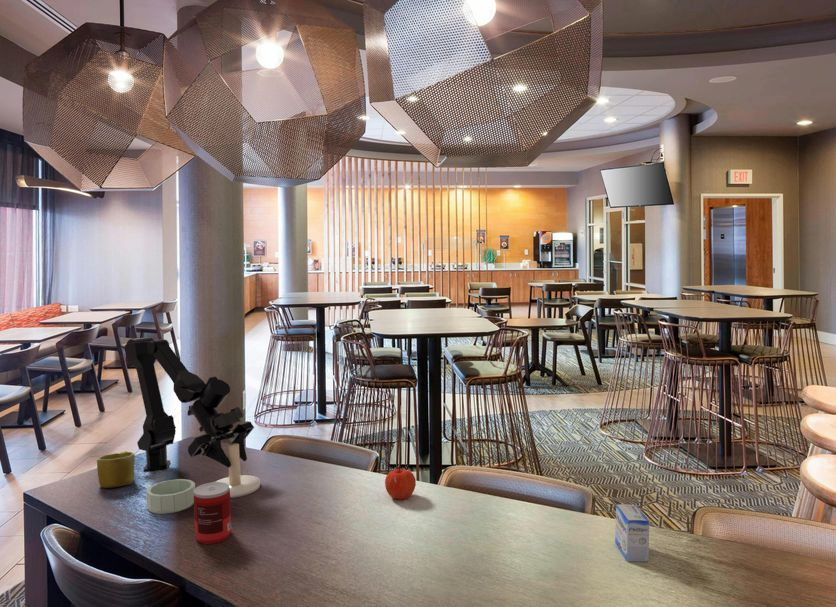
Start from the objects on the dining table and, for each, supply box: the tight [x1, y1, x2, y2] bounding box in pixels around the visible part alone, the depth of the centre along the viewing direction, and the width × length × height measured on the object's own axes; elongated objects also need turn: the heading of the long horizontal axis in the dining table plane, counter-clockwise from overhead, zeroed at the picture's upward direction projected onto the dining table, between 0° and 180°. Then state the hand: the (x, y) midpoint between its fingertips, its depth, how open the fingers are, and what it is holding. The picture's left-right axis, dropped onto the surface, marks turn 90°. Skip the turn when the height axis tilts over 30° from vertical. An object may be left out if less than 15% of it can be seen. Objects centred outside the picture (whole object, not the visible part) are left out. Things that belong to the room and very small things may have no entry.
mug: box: [96, 450, 136, 489], centre depth 163 cm, size 12×10×10 cm
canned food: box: [193, 481, 232, 545], centre depth 130 cm, size 8×8×11 cm
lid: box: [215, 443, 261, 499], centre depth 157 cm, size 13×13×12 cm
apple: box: [384, 466, 417, 500], centre depth 150 cm, size 8×8×8 cm
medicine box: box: [614, 504, 650, 563], centre depth 120 cm, size 8×4×9 cm, turn 178°
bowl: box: [145, 478, 196, 515], centre depth 147 cm, size 11×11×4 cm
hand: (238, 463), depth 157 cm, fingers open, 5 cm apart
